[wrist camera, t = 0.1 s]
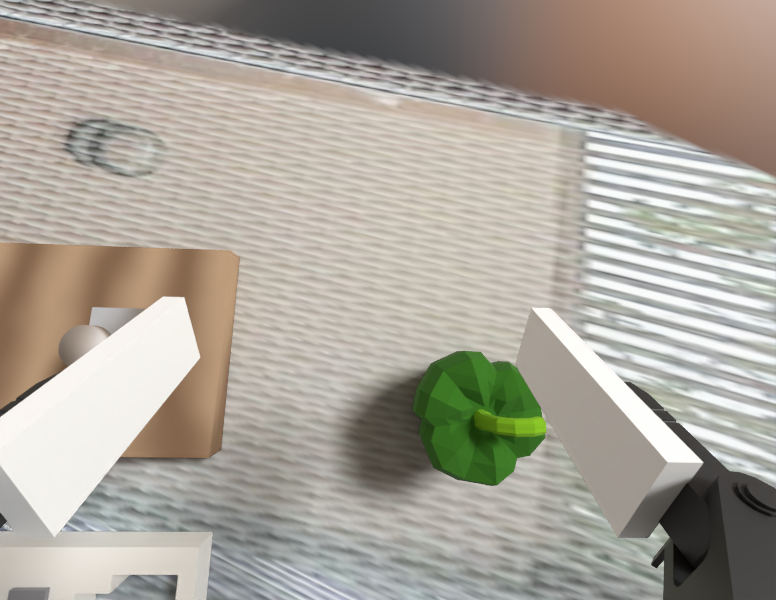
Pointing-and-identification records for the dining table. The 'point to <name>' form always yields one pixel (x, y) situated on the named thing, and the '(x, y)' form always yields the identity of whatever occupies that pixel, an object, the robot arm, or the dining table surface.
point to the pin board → (111, 312)
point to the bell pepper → (477, 417)
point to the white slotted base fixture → (100, 563)
